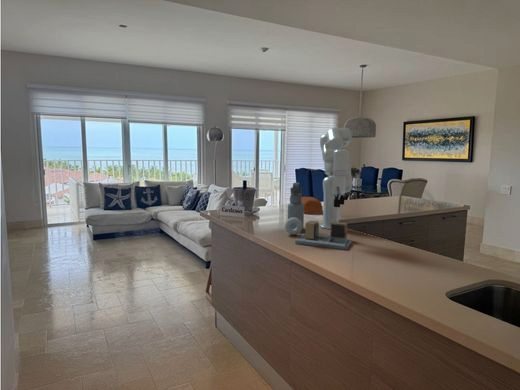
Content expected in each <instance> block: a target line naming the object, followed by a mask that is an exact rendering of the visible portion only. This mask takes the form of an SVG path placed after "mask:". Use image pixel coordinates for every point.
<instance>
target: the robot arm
mask: <svg viewBox="0 0 520 390" xmlns="http://www.w3.org/2000/svg"><path fill="white" fill-rule="evenodd" d="M351 141H352V130H350V129H349V128H348V127H332V128H330V129H328V130H327V132H326V133H325V134H323V135H321V136H320V138H319V145H320V146H319V147H320V149H321V155H322V160H323V162H324V165H323V166H324V168H323V169H324V174H325V175H326V177H324V179H322V191H323V204H322V206H323V211H322V216H323V217H322V223H321V224H319V228H323V229H329V230H331V222H340V221H339V220H340V219H339V218H340V217H339V216H340V214H339V213H340V208H341V205H343V206H344V205H345V194H346V193H349V192H351V191H352V189H353V182H352V168H351V164H350V163H349V160H350V152H349V151H348V150H347V149H342V148H346V147H348V146H349V144H350V143H351Z"/></svg>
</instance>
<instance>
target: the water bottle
mask: <svg viewBox="0 0 520 390" xmlns="http://www.w3.org/2000/svg"><path fill="white" fill-rule="evenodd" d="M289 193H290V196H289V203H288V204H287V220H288V219H290V218H298V219H299V220H300V221H301V222H302V226H303V227H302V230H304V227H305V226H304V224H305V223H304V222H305V217H304V216H305V214H304V205H303V204H302V203H301V199H302V197H303V196H302V195H303V187H300V182H293V183H292V187H290V192H289ZM296 227H297V226H296V224H291V228H292V229H295V228H296Z"/></svg>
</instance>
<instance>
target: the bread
mask: <svg viewBox="0 0 520 390" xmlns="http://www.w3.org/2000/svg"><path fill="white" fill-rule="evenodd" d="M301 203H302V204H303V205H304V215H321V214H323V204H322V202H321V201H320V200H318V199H317V198H315V197H313V196H302V199H301Z"/></svg>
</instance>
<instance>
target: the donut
mask: <svg viewBox="0 0 520 390" xmlns="http://www.w3.org/2000/svg"><path fill="white" fill-rule="evenodd" d="M291 224H296V226H297V227H296V228H295V229H292V228H291ZM302 227H303V226H302V222H301V221H300V220H299V219H298V218H290V219H288V218H287V220H286V221H285V223H284V230H285V231H286V233H287V234H289V235H292V236H296V235H299V234H300V233H301V231H303V229H302ZM303 228H304V227H303Z"/></svg>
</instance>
